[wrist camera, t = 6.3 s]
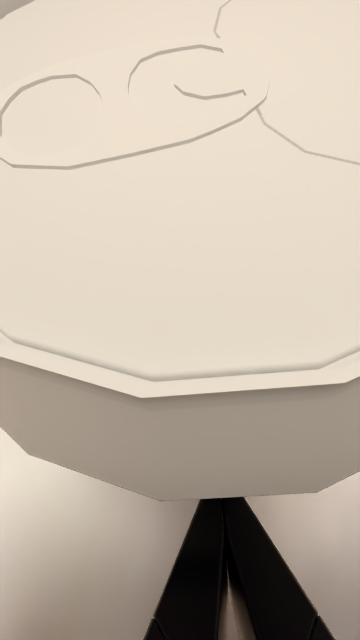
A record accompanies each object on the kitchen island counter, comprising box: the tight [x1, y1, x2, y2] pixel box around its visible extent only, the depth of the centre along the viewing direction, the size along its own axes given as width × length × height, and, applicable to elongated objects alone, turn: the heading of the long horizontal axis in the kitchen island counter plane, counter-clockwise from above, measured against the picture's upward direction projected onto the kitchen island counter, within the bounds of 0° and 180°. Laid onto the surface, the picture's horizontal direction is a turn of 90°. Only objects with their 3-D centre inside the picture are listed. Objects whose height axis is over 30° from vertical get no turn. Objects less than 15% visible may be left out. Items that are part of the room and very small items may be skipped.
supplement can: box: [0, 0, 360, 501], centre depth 10 cm, size 8×8×15 cm
